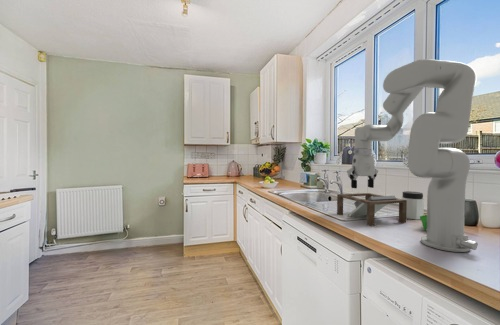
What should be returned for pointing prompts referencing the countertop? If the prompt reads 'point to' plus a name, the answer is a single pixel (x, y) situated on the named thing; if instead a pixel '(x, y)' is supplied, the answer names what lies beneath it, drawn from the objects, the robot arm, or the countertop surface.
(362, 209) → the trapdoor
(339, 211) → the trapdoor frame
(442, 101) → the robot arm
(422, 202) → the jar
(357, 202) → the metal canister
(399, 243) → the countertop surface
